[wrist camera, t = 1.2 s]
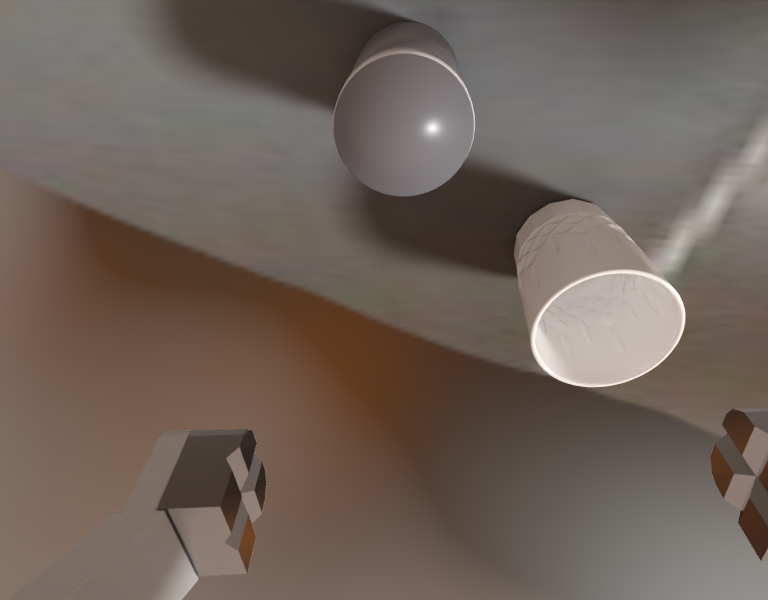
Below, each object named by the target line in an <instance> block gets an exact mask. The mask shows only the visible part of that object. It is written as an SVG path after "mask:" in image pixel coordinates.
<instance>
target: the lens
mask: <svg viewBox="0 0 768 600" xmlns="http://www.w3.org/2000/svg"><path fill="white" fill-rule="evenodd" d="M474 131H475V117H474V110H473V105H472V101H471V99H470V96H469V93H468V90H467V88H466V86H465V84H464V82H463V79H462V76H461V73H460V70H459V67H458V64H457V61H456V58H455V55H454V52H453V50H452V48H451V47H450V45H449V44H448V42H447V41H446V39H445V38H444V37H443V36H442V35H441V34H440V33H438V32H437V31H436V30H434V29H433V28H431V27H429V26H427V25H424V24H422V23H418V22H411V21H404V22H397V23H393V24H390V25H388V26H386V27H384V28H382V29H380V30H379V31H377V32H376V33H375V34H374V35H373V36H372V37H371V38H370V39H369V40H368V41H367V42H366V44H365V45H364V47H363V49H362V50H361V52H360V55H359V57H358V59H357V61H356V63H355V65H354V67H353V69H352V72H351V74H350V76H349V77H348V79H347V81H346V82H345V84H344V86H343V88H342V90H341V92H340V94H339V97H338V99H337V102H336V106H335V109H334V116H333V133H334V139H335V144H336V147H337V150H338V152H339V155H340V157H341V159H342V161H343V162H344V164H345V165H346V167H347V168H348V170H349V171H350V172H351V173H352V174H353V175H354V176H355V177H356V178H357V179H358V180H359V181H360V182H362V183H363V184H365V185H366V186H368V187H369V188H371V189H373V190H375V191H378V192H381V193H383V194H387V195H392V196H414V195H420V194H423V193H426V192H429V191H431V190H434V189H436V188H437V187H439V186H441V185H443V184H444V183H445V182H446V181H448V180H449V179H450V178H451V177H452V176H453V175H454V174H455V173H456V172H457V171H458V170H459V168H460V167H461V166H462V164H463V162H464V161H465V159H466V158H467V155H468V153H469V151H470V148H471V145H472V142H473V137H474Z"/></svg>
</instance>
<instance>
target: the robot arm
mask: <svg viewBox="0 0 768 600" xmlns="http://www.w3.org/2000/svg"><path fill="white" fill-rule="evenodd" d="M722 426H723V428H724V429H725V431H726V432H727V434H726V435H725V436H723V437H722V438H721V439H719V440H718V441H717V442H715V444H714V447H713V450H712V453H711V456H710V460H711V471H712V475H713V478H714V481H715V484H716V486H717V488H718V490H719V491H720V493H721V495H722V497H723V499H725V500H726V501H728V502H729V503H730V504H732V505H733V506H735V507H736V508H738V509H739V510H740V516H739V520H738V524H739V525H740V527H741V529H742V530H743V532H744V534H745V535H746V537H747V539H748V540H749V542H750V544H751V545H752V547H753V549H754V550H755V552H756V554H757V555H758V557H759V559H760V560H761V561H768V407H750V408H733V409H731V410H730V411H729V412H728V413H727V414H726V415H725V418H724V420H723V423H722ZM256 444H257V442H256V439H255V437H254V434H253V431H252V430H248V429H237V430H194V431H166V432H165V433H164V434H163V435H162V436H161V437H160V438H159V439H158V441H157V443H156V445H155V447H154V449H153V451H152V453H151V455H150V457H149V460H148V462H147V464H146V466H145V468H144V470H143V472H142V474H141V476H140V478H139V480H138V482H137V484H136V486H135V488H134V490H133V492H132V494H131V496H130V498H129V500H128V502H127V504H126V507H125V508H124V510H123V512H114V513H113V514H111V515H110V516H109V517H108V518H107V519H105V520H104V521H103V522H102V523H101V524H99V525H98V526H97V527H96V528H94V529H93V530H92V531H91V532H89V533H88V534H87V535H86V536H85V537H83V538H82V539H81V540H80V541H79V542H77V543H76V544H75V545H74V546H73V547H71V548H70V549H69V550H68V551H66V552H65V553H64V554H63V555H61V556H60V557H59V558H58V559H57V560H55V561H54V562H53V563H52V564H50V565H49V566H48V567H47V568H46V569H44V570H43V571H42V572H41V573H40V574H38V575H37V576H36V577H35V578H33V579H32V580H31V581H30V582H29V583H27V584H26V585H25V586H24V587H23V588H21V589H20V590H19V591H18V592H16V593H15V594H14V595H13V596H12V597H10V598H9V599H8V600H182V599H183V598H184V596H185V595H186V594H187V593H188V592H189V590H190V589H191V588H192V587H193V585H194V584H195V583H196V582H197V580H198V577H197V576H213V575H230V574H247V573H248V569H249V565H250V561H251V556H252V552H253V548H254V544H255V540H256V535H255V532H254V529H253V526H252V523H253V522H254V521H255V520H256V519H257V518H258V517H259V516H260V515H261V514H262V511H263V506H264V502H265V494H266V475H265V468H264V465H263V462H262V460H261V459H260V458H258V457H257V456H256V455H254V452H255V448H256Z"/></svg>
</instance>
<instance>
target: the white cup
mask: <svg viewBox="0 0 768 600" xmlns="http://www.w3.org/2000/svg"><path fill="white" fill-rule="evenodd" d="M514 258H515V262H516V267H517V277H518V284H519V289H520V296H521V301H522V306H523V311H524V316H525V320H526V325H527V329H528V334H529V339H530V344H531V349H532V352H533V355H534V357H535V359H536V361H537V362H538V364H539V365H540V366H541V367H542V368H543V369H544V370H545V371H546V372H547V373H548V374H550V375H551V376H553V377H554V378H556V379H558V380H560V381H563V382H565V383H568V384H572V385H577V386H583V387H603V386H611V385H616V384H620V383H623V382H627V381H630V380H632V379H635V378H637V377H639V376H641V375H643V374H645V373H647V372H648V371H650V370H652V369H653V368H655V367H656V366H657V365H659V364H660V363H661V362H662V361H663V360H664V359H665V358H666V357H667V356H668V355H669V354H670V353H671V352H672V350H673V349H674V348H675V346H676V345H677V343H678V341H679V339H680V337H681V335H682V332H683V329H684V325H685V309H684V305H683V302H682V300H681V298H680V296H679V294H678V293H677V291H676V290H675V289H674V288H673V287H672V285H671V284H670V283H669V282H668V281H667V280H666V278H665V277H664V276H663V275H662V274H661V273H660V271H659V270H658V269H657V268H656V267H655V265H654V264H653V263H652V262H651V261H650V259H649V258H648V257H647V256H646V255H645V253H644V252H643V251H642V250H641V249H640V248H639V247H638V246H637V245H636V244H635V242H634V241H633V240H632V239H631V238H630V237H629V236H628V235H627V234H626V233H625V231H624V230H623V229H622V228H621V227H620V226H619V225H616V223H615V222H614V221H613V220H612V219H611V217H609V216H608V215H607V214H606V213H605V212H604V211H603V210H602V209H600V208H599V207H598V206H597V205H596V204H593V203H589V202H585V201H580V200H576V199H570V200H565V201H559V202H554V203H549V204H548V205H546V206H545V207H543V208H541V209H540V210H538V211H537V212H535V213H534V214H532V215H530V216H529V217H528V219H527V220H526V222H525V223H524V225H523V226H522V227H521V229H520V230H519V232H518V233H517V235H516V242H515V249H514Z"/></svg>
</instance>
